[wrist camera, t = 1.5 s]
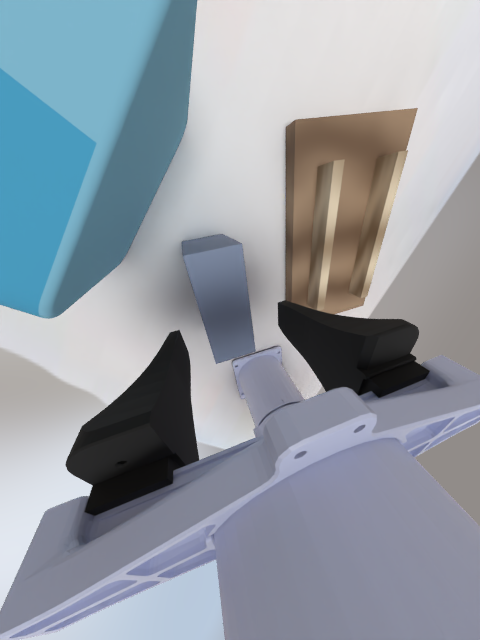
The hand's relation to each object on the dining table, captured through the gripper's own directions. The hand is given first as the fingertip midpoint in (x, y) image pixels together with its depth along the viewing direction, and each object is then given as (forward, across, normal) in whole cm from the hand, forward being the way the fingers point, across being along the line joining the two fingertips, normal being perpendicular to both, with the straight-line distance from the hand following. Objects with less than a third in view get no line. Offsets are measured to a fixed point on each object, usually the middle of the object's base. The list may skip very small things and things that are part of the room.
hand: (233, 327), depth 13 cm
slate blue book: (+9, 0, 0) cm, 9 cm away
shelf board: (+9, -15, -2) cm, 18 cm away
